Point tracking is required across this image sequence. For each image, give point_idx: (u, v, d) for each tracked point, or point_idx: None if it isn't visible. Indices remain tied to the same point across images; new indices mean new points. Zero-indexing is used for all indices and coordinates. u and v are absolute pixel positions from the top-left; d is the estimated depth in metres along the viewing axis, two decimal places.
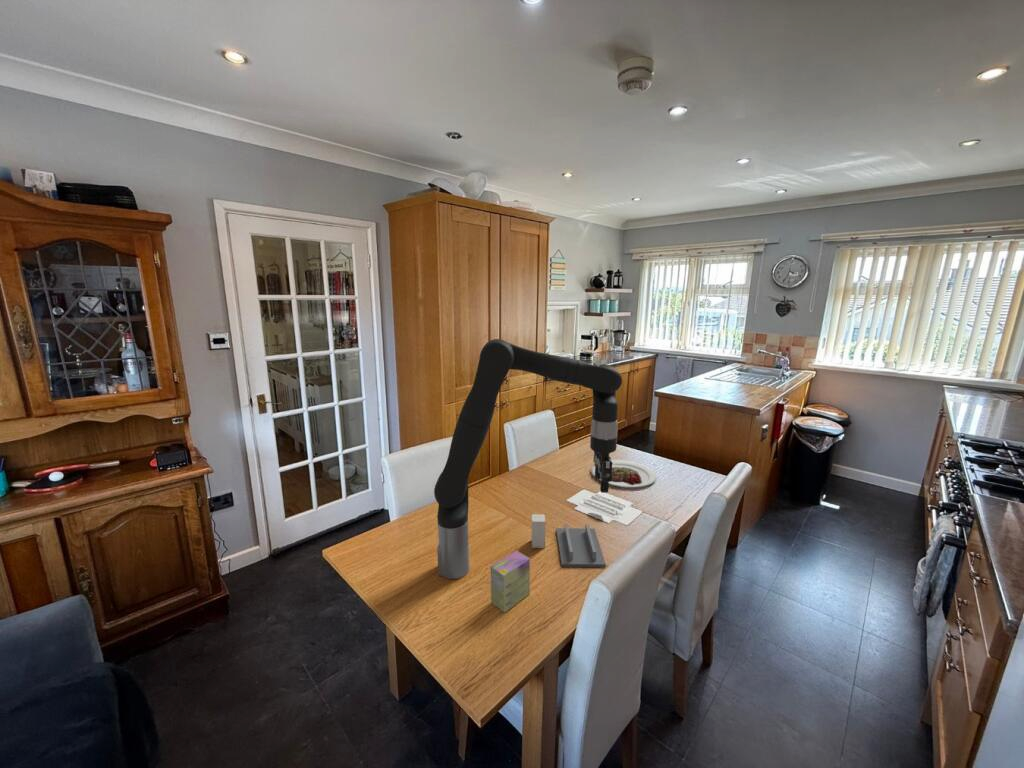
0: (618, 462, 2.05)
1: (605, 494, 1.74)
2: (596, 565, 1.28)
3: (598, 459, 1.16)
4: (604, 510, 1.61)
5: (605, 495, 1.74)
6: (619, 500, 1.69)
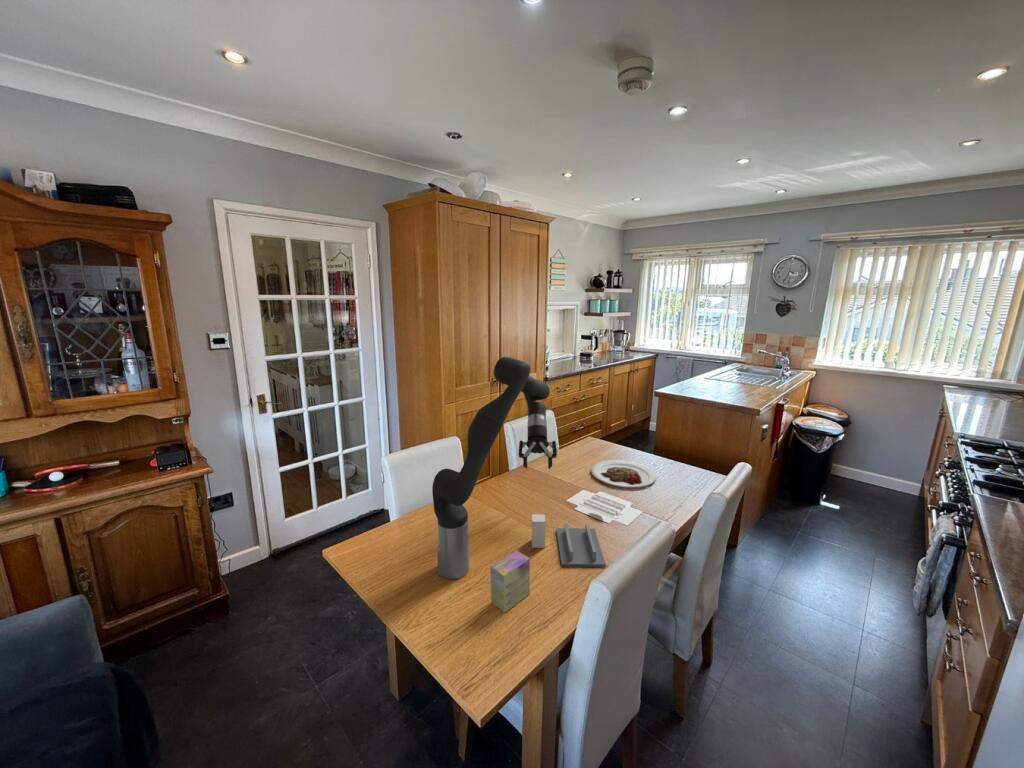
0: (618, 462, 2.05)
1: (605, 494, 1.74)
2: (596, 565, 1.28)
3: None
4: (604, 510, 1.60)
5: (605, 495, 1.73)
6: (619, 500, 1.69)
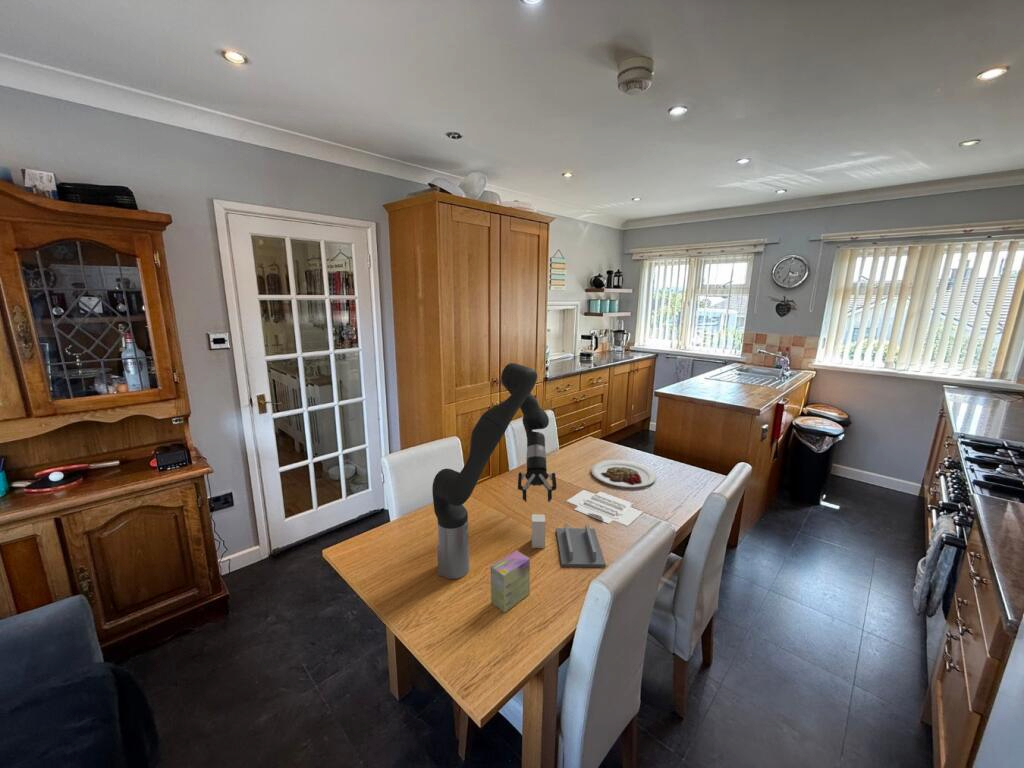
0: (618, 462, 2.05)
1: (605, 494, 1.74)
2: (596, 565, 1.28)
3: None
4: (604, 511, 1.60)
5: (605, 495, 1.73)
6: (619, 500, 1.69)
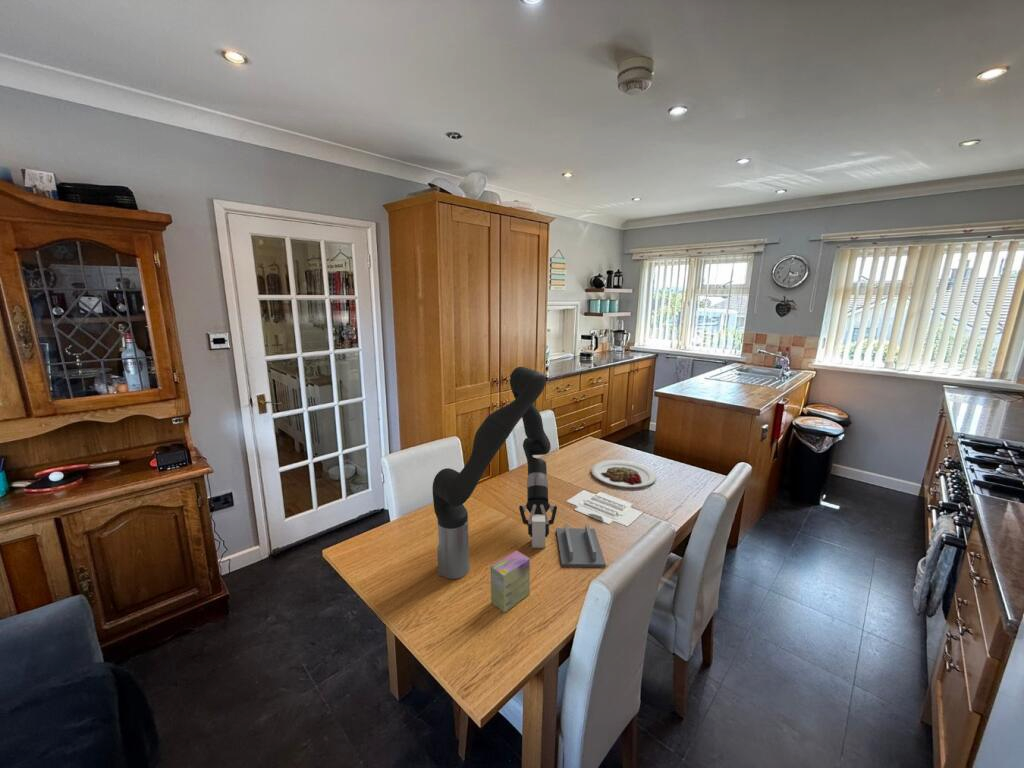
0: (618, 462, 2.05)
1: (605, 495, 1.74)
2: (596, 565, 1.28)
3: (543, 506, 1.42)
4: (604, 511, 1.60)
5: (605, 496, 1.73)
6: (619, 501, 1.69)
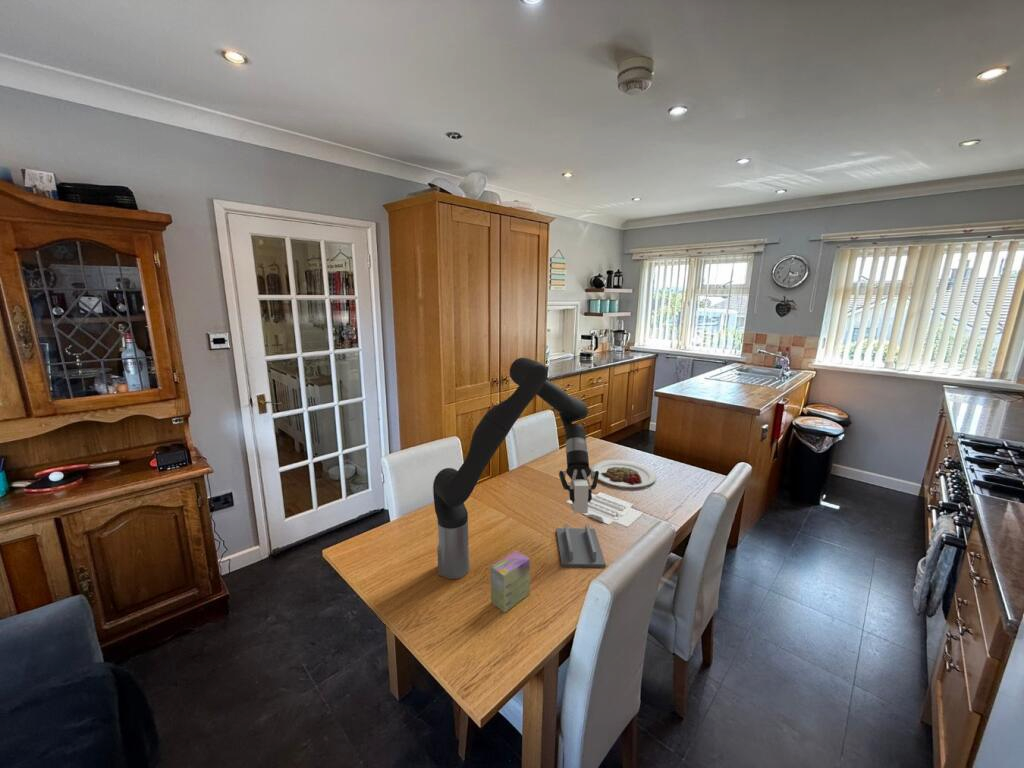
0: (618, 462, 2.05)
1: (605, 495, 1.73)
2: (596, 565, 1.28)
3: None
4: (604, 511, 1.60)
5: (605, 496, 1.73)
6: (619, 501, 1.68)
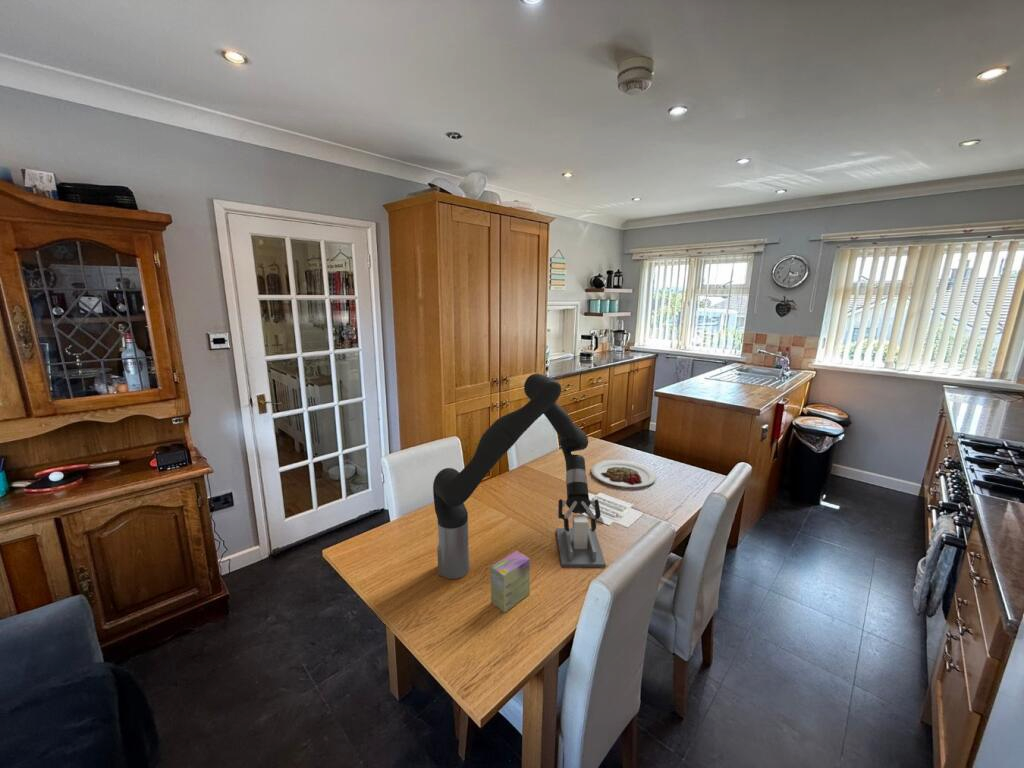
0: (618, 462, 2.05)
1: (605, 496, 1.73)
2: (596, 565, 1.28)
3: None
4: (604, 512, 1.59)
5: (605, 497, 1.72)
6: (619, 502, 1.68)
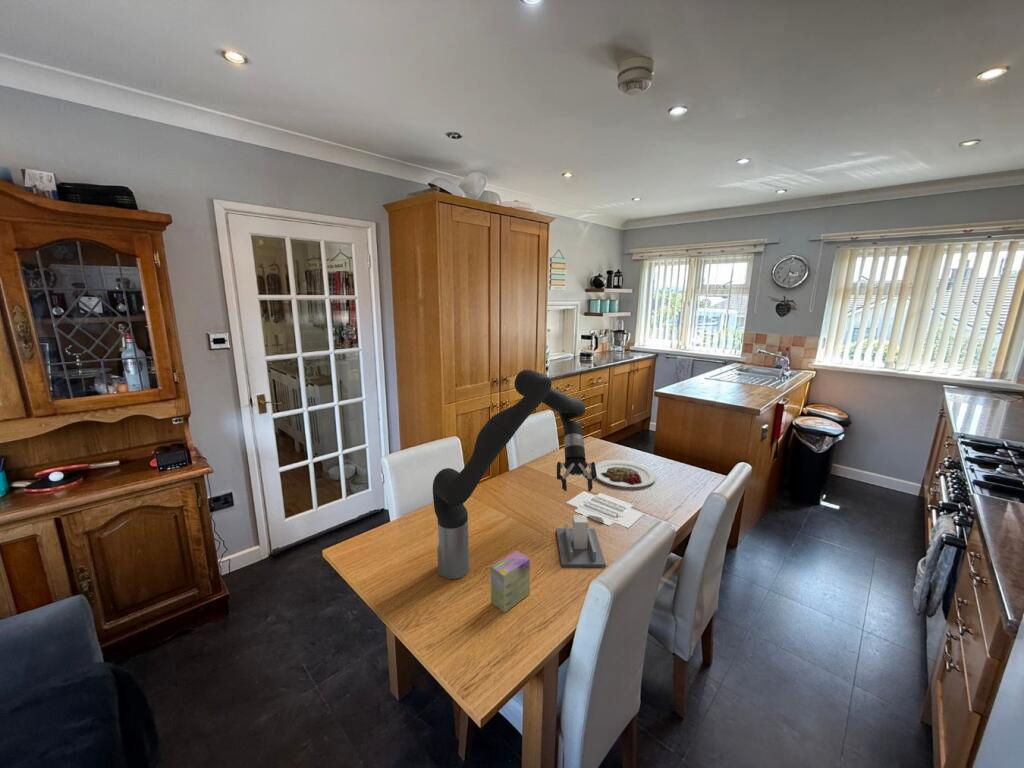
0: (618, 462, 2.05)
1: (605, 496, 1.73)
2: (596, 565, 1.28)
3: None
4: (604, 512, 1.59)
5: (605, 497, 1.72)
6: (619, 502, 1.68)
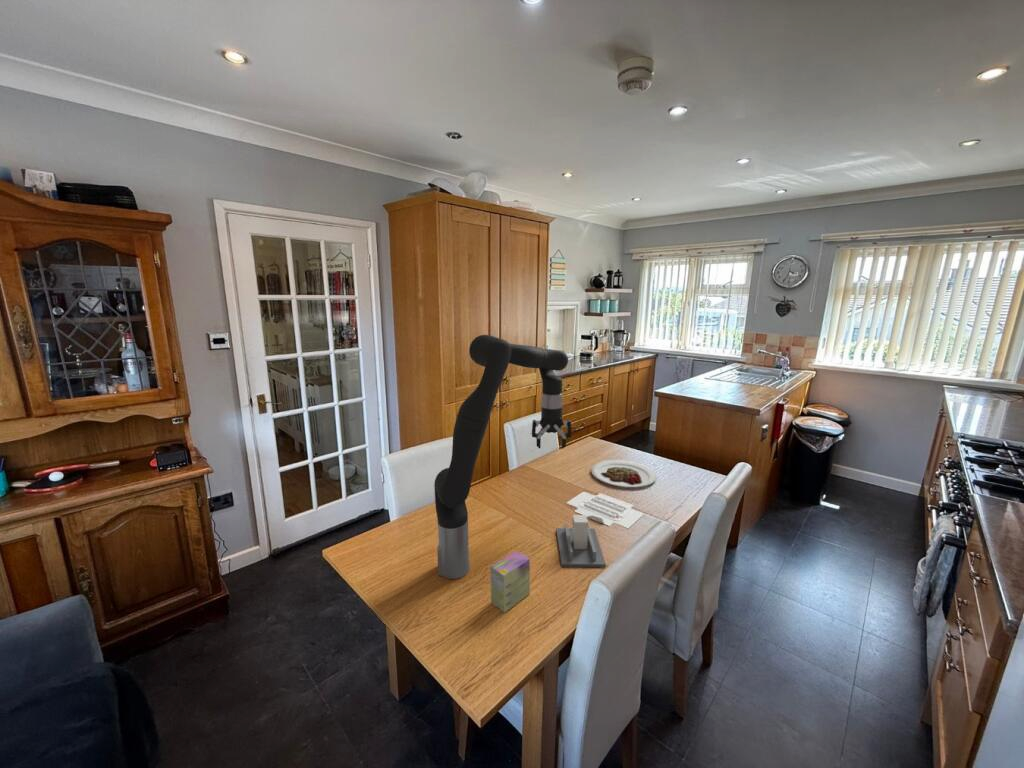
0: (618, 462, 2.05)
1: (605, 496, 1.73)
2: (596, 565, 1.28)
3: (557, 425, 1.44)
4: (604, 513, 1.59)
5: (605, 497, 1.72)
6: (619, 502, 1.67)
